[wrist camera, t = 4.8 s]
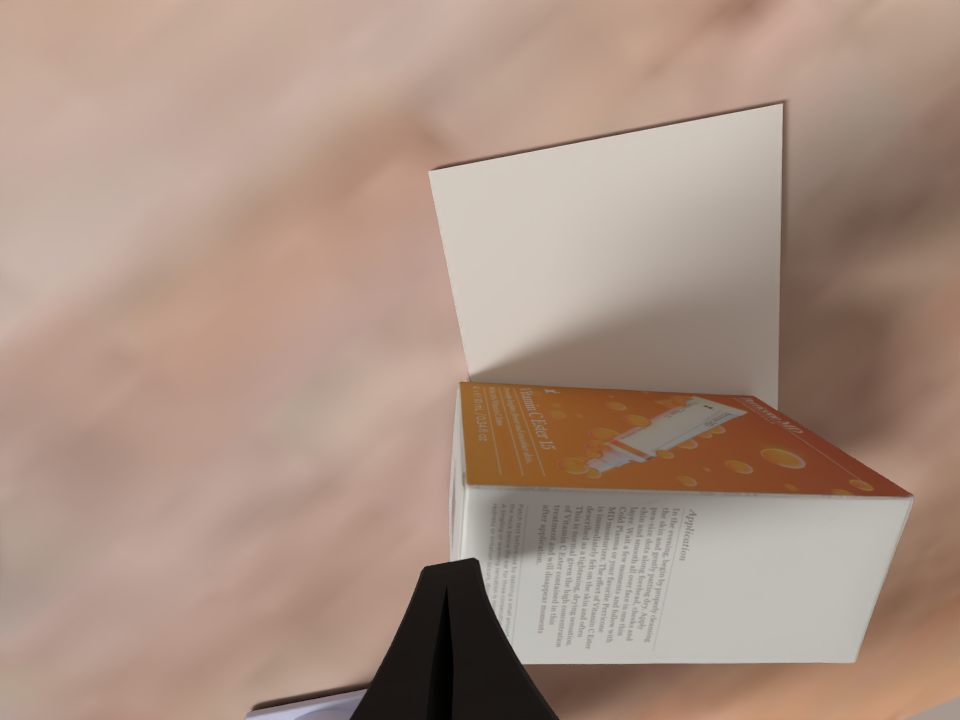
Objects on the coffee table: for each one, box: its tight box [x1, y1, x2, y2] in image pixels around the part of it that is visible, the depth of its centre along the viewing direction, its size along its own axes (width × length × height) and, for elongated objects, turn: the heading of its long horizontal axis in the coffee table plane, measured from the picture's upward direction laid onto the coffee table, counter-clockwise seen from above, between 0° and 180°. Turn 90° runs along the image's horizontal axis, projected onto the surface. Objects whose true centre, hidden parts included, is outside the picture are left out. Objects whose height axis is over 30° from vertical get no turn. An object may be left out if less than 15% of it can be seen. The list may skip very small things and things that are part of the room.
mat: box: [428, 103, 783, 411], centre depth 21 cm, size 20×13×1 cm, turn 10°
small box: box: [449, 382, 914, 664], centre depth 18 cm, size 8×6×13 cm
